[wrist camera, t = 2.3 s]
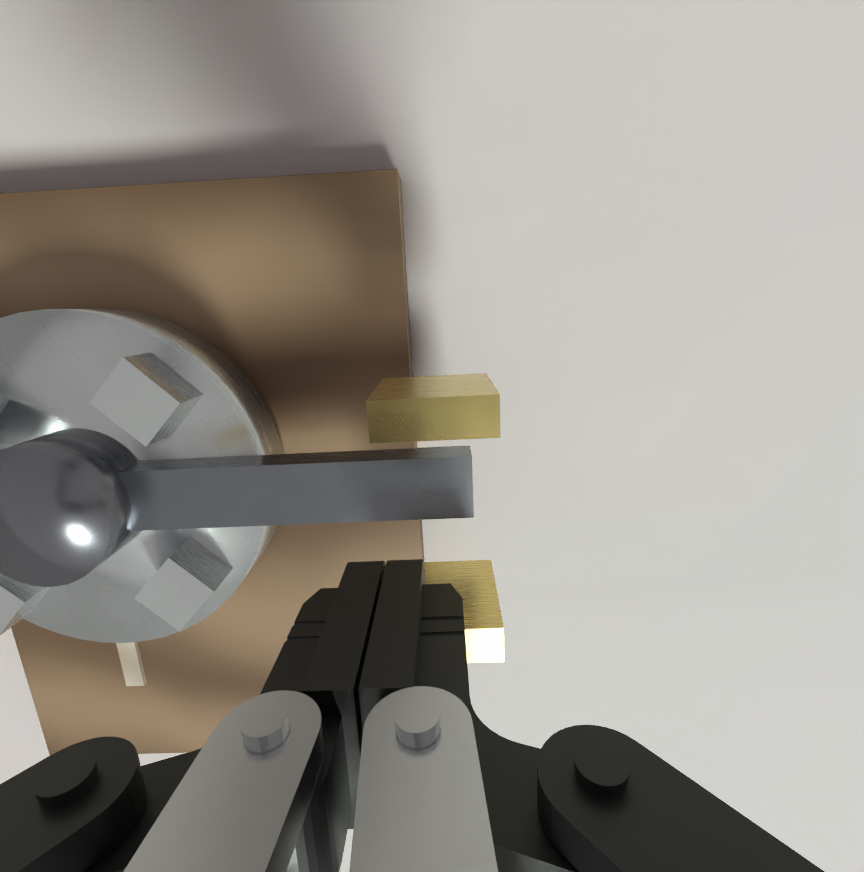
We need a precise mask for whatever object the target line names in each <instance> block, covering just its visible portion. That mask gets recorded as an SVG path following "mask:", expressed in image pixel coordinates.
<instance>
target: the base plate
mask: <svg viewBox="0 0 864 872" xmlns="http://www.w3.org/2000/svg"><path fill="white" fill-rule="evenodd" d="M43 309H123V310H130V311H137V312H143V313H146V314H150V315H153V316H157V317H160V318H164V319H166V320H168V321H171V322H173V323H176V324H178V325H180V326H183V327H185V328H187V329H188V330H190V331H192V332H194V333H195V334H197V335H199V336H201V337H202V338H204V339H205V340H207V341H208V342H209V343H211V344H212V345H214V346H215V347H216V348H218V349H219V350H220V351H222V352H223V353H224V354H225V355H226V356H227V357H228V358H229V359H230V360H231V361H232V362H233V363H234V364H236V365H237V366H238V367H239V368H240V370H241V371H242V372H243V373H244V374H245V376H246V377H247V378H248V379H249V380H250V382H251V383H252V384H253V385H254V387H255V388H256V390H257V391H258V393H259V395H260V396H261V398H262V399H263V401H264V402H265V404H266V406H267V408H268V410H269V412H270V414H271V416H272V418H273V420H274V423H275V426H276V429H277V432H278V434H279V437H280V440H281V445H282V450H283V454H294V453H316V452H338V451H361V450H383V449H406V448H417V441H412V442H390V443H369V431H368V419H367V408H366V400H367V399H368V397H369V396H370V395H371V394H372V392H373V391H374V390H375V389H376V387H377V386H378V385H379V384H380V382H381V381H382V380H383V379H384V378H404V377H413V373H412V357H411V341H410V325H409V308H408V292H407V276H406V260H405V244H404V227H403V211H402V195H401V179H400V176H399V173H398V170H397V169H386V170H370V171H354V172H338V173H322V174H306V175H290V176H274V177H258V178H242V179H226V180H210V181H194V182H178V183H162V184H146V185H130V186H114V187H98V188H82V189H66V190H50V191H34V192H18V193H2V194H0V318H2V317H6V316H9V315H13V314H16V313H20V312H27V311H35V310H43ZM412 559H423V560H424V551H423V535H422V519H420V520H395V521H370V522H345V523H320V524H295V525H277V528H276V531H275V533H274V535H273V537H272V539H271V540H270V542H269V544H268V546H267V548H266V549H265V551H264V552H263V553H262V555H261V556H260V557H259V559H258V560H257V562H256V563H255V564H254V566H253V567H252V569H251V570H250V571H249V573H248V574H247V575H246V577H245V578H244V580H243V581H242V582H241V584H240V585H239V586H238V588H237V589H236V590H235V591H234V593H233V594H232V595H231V597H230V598H229V599H228V600H226V601H225V602H224V603H223V604H222V605H221V606H220V607H219V608H218V609H217V610H216V611H214V612H213V613H212V614H210V615H209V616H207V617H206V618H205V619H203V620H202V621H200V622H198V623H196V624H194V625H193V626H191V627H189V628H187V629H185V630H183V631H180V632H177V633H174V634H171V635H169V636H166V637H162V638H157V639H153V640H148V641H141V642H130V643H103V642H96V641H89V640H82V639H78V638H74V637H70V636H66V635H62V634H59V633H56V632H53V631H50V630H48V629H45V628H42V627H40V626H37V625H35V624H33V623H31V622H29V621H27V620H25V619H21V620H20V621H19V622H17V623H16V624H15V625H13V626H12V627H11V628H12V631H13V635H14V638H15V641H16V645H17V648H18V651H19V655H20V658H21V661H22V664H23V668H24V671H25V674H26V678H27V681H28V684H29V688H30V691H31V694H32V697H33V701H34V704H35V707H36V711H37V714H38V717H39V721H40V724H41V727H42V730H43V734H44V737H45V740H46V744H47V747H48V750H49V754H50V756H51V755H52V754H54V753H56V752H58V751H60V750H62V749H64V748H66V747H69V746H71V745H73V744H76V743H79V742H82V741H85V740H88V739H93V738H97V737H106V736H110V737H120V738H124V739H126V740H128V741H130V742H131V743H132V744H133V745H134V746H135V748H136V750H137V753H138V754H145V753H184V752H191V751H194V750H197V749H200V748H202V747H203V746H204V744H205V743H206V741H207V740H208V738H209V736H210V735H211V733H212V732H213V730H214V729H215V727H216V726H217V724H218V723H219V722H220V721H221V719H222V718H223V717H224V716H225V715H226V714H227V713H229V712H230V711H231V710H232V709H234V708H235V707H236V706H238V705H239V704H241V703H243V702H245V701H246V700H248V699H250V698H253V697H255V696H258V695H260V693H261V691H262V689H263V687H264V685H265V683H266V680H267V678H268V676H269V674H270V672H271V670H272V668H273V666H274V664H275V661H276V659H277V657H278V655H279V653H280V651H281V649H282V647H283V645H284V643H285V641H287V636H288V634H289V632H290V630H291V628H292V626H293V625H294V622H295V619H296V617H297V615H298V613H299V611H300V609H301V607H302V605H303V603H304V602H306V601H307V600H308V599H309V598H310V597H311V596H313V595H314V594H315V593H316V592H317V591H318V590H319V589H321V588H338V586H339V583H340V581H341V578H342V575H343V573H344V570H345V568H346V565H347V563H348V562H363V561H385V562H387V561H388V560H412Z"/></svg>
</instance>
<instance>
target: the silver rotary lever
mask: <svg viewBox="0 0 864 872" xmlns="http://www.w3.org/2000/svg"><path fill="white" fill-rule="evenodd" d="M366 408H367V419H368V431H369V443H390V442H412V441H434V440H456V439H479V438H500V396H499V393H498V391H497V390H496V388H495V387H494V385H493V383H492V382H491V380H490V379H489V377H488V376H487V374H486V373H485V374H465V375H445V376H424V377H404V378H384V379H383V380H382V381H381V382H380V384H379V385H378V386H377V387H376V389H375V390H374V391H373V392H372V394H371V395H370V396H369V397H368V399H367V400H366ZM470 517H474V511H473V481H472V455H471V450H470V446H451V447H428V448H406V449H383V450H361V451H338V452H316V453H294V454H283V450H282V445H281V440H280V437H279V434H278V432H277V429H276V426H275V423H274V420H273V418H272V416H271V414H270V412H269V410H268V408H267V406H266V404H265V402H264V401H263V399H262V398H261V396H260V395H259V393H258V391H257V390H256V388H255V387H254V385H253V384H252V383H251V382H250V380H249V379H248V378H247V377H246V376H245V374H244V373H243V372H242V371H241V370H240V368H239V367H238V366H237V365H236V364H234V363H233V362H232V361H231V360H230V359H229V358H228V357H227V356H226V355H225V354H224V353H223V352H222V351H220V350H219V349H218V348H216V347H215V346H214V345H212V344H211V343H209V342H208V341H207V340H205V339H204V338H202V337H201V336H199V335H197V334H195V333H194V332H192V331H190V330H188V329H187V328H185V327H183V326H180V325H178V324H176V323H173V322H171V321H168V320H166V319H164V318H160V317H157V316H153V315H150V314H146V313H143V312H137V311H130V310H123V309H43V310H35V311H27V312H20V313H16V314H13V315H9V316H6V317H2V318H0V635H1V634H2V633H4V632H5V631H6V630H8V629H9V628H10V627H12V626H13V625H15V624H16V623H17V622H19V621H20V620H21V619H25V620H27V621H29V622H31V623H33V624H35V625H37V626H40V627H42V628H45V629H48V630H50V631H53V632H56V633H59V634H62V635H66V636H70V637H74V638H78V639H82V640H89V641H96V642H103V643H130V642H141V641H148V640H153V639H157V638H162V637H166V636H169V635H171V634H174V633H177V632H180V631H183V630H185V629H187V628H189V627H191V626H193V625H194V624H196V623H198V622H200V621H202V620H203V619H205V618H206V617H207V616H209V615H210V614H212V613H213V612H214V611H216V610H217V609H218V608H219V607H220V606H221V605H222V604H223V603H224V602H225V601H226V600H228V599H229V598H230V597H231V595H232V594H233V593H234V591H235V590H236V589H237V588H238V586H239V585H240V584H241V582H242V581H243V580H244V578H245V577H246V575H247V574H248V573H249V571H250V570H251V569H252V567H253V566H254V564H255V563H256V562H257V560H258V559H259V557H260V556H261V555H262V553H263V552H264V551H265V549H266V548H267V546H268V544H269V542H270V540H271V539H272V537H273V535H274V533H275V531H276V528H277V525H295V524H320V523H345V522H370V521H395V520H420V519H445V518H470ZM424 567H425V582H426V584H448V583H451V585H452V586H453V587H454V588H455V590H456V591H457V592H458V593H459V594H460V596H461V597H462V599H463V613H464V627H465V641H466V654H467V663H476V662H504V627H503V622H502V616H501V611H500V606H499V601H498V595H497V590H496V585H495V580H494V574H493V569H492V564H491V560H477V561H450V562H424Z"/></svg>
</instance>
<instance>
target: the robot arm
mask: <svg viewBox="0 0 864 872" xmlns="http://www.w3.org/2000/svg"><path fill="white" fill-rule="evenodd" d="M347 829H354V830H353V840H352V851H351V861H350V872H824V871H823V870H821V869H820V868H818V867H817V866H815V865H814V864H812V863H811V862H810V861H808V860H807V859H805V858H804V857H802V856H801V855H800V854H798V853H797V852H795V851H794V850H792V849H791V848H789V847H788V846H787V845H785V844H784V843H782V842H781V841H779V840H778V839H776V838H775V837H774V836H772V835H771V834H769V833H768V832H766V831H765V830H763V829H762V828H761V827H759V826H758V825H756V824H755V823H753V822H752V821H750V820H749V819H748V818H746V817H745V816H743V815H742V814H740V813H739V812H737V811H736V810H735V809H733V808H732V807H730V806H729V805H727V804H726V803H724V802H723V801H722V800H720V799H719V798H717V797H716V796H714V795H713V794H711V793H710V792H709V791H707V790H706V789H704V788H703V787H701V786H700V785H699V784H697V783H696V782H694V781H693V780H691V779H690V778H688V777H687V776H686V775H684V774H683V773H681V772H680V771H678V770H677V769H675V768H674V767H673V766H671V765H670V764H668V763H667V762H665V761H664V760H662V759H661V758H660V757H658V756H657V755H655V754H654V753H652V752H651V751H649V750H648V749H647V748H645V747H644V746H642V745H641V744H639V743H638V742H636V741H635V740H633V739H632V738H630V737H628V736H627V735H624V734H622V733H620V732H618V731H615V730H612V729H609V728H606V727H601V726H595V725H577V726H572V727H568V728H565V729H563V730H560V731H558V732H557V733H555V734H553V735H552V736H551V737H550V738H549V739H548V740H547V741H546V742H545V744H544V745H543V747H542V748H541V749H539V748H535V747H531V746H528V745H524V744H520V743H517V742H513V741H510V740H508V739H506V738H503V737H501V736H499V735H498V734H496V733H494V732H493V731H491V730H490V729H489V728H488V727H486V726H485V725H484V724H483V723H482V722H481V720H480V719H479V718H478V717H477V715H476V714H475V712H474V710H473V708H472V705H471V702H470V696H469V682H468V668H467V654H466V641H465V627H464V613H463V599H462V597H461V596H460V594H459V593H458V592H457V591H456V590H455V588H454V587H453V586H452V585H451V583H448V584H426V582H425V567H424V560H423V559H412V560H388V561H387V562H385V561H363V562H348V563H347V565H346V568H345V570H344V573H343V575H342V578H341V581H340V583H339V586H338V588H321V589H319V590H318V591H317V592H316V593H315V594H314V595H313V596H311V597H310V598H309V599H308V600H307V601H306V602H304V603H303V605H302V607H301V609H300V611H299V613H298V615H297V617H296V619H295V622H294V625H293V626H292V628H291V630H290V632H289V634H288V636H287V641H285V643H284V645H283V647H282V649H281V651H280V653H279V655H278V657H277V659H276V661H275V664H274V666H273V668H272V670H271V672H270V674H269V676H268V678H267V680H266V683H265V685H264V687H263V689H262V691H261V693H260V695H258V696H255V697H253V698H250V699H248V700H246V701H245V702H243V703H241V704H239V705H238V706H236V707H235V708H234V709H232V710H231V711H230V712H229V713H227V714H226V715H225V716H224V717H223V718H222V719H221V721H220V722H219V723H218V724H217V726H216V727H215V729H214V730H213V732H212V733H211V735H210V736H209V738H208V740H207V741H206V743H205V744H204V746H203V747H202V748H200V749H197V750H194V751H191V752H189V753H185V754H182V755H178V756H175V757H171V758H168V759H164V760H161V761H157V762H154V763H151V764H147V765H144V766H140V762H139V757H138V753H137V750H136V748H135V746H134V745H133V744H132V743H131V742H130V741H128V740H126V739H124V738H120V737H110V736H106V737H97V738H93V739H88V740H85V741H82V742H79V743H76V744H73V745H71V746H69V747H66V748H64V749H62V750H60V751H58V752H56V753H54V754H52V755H51V756H49V757H47V758H45V759H44V760H42V761H40V762H38V763H37V764H35V765H33V766H31V767H30V768H28V769H26V770H25V771H23V772H21V773H19V774H18V775H16V776H14V777H12V778H11V779H9V780H7V781H6V782H4V783H2V784H0V872H341V870H340V865H341V862H342V856H343V851H344V845H345V840H346V834H347Z"/></svg>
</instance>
